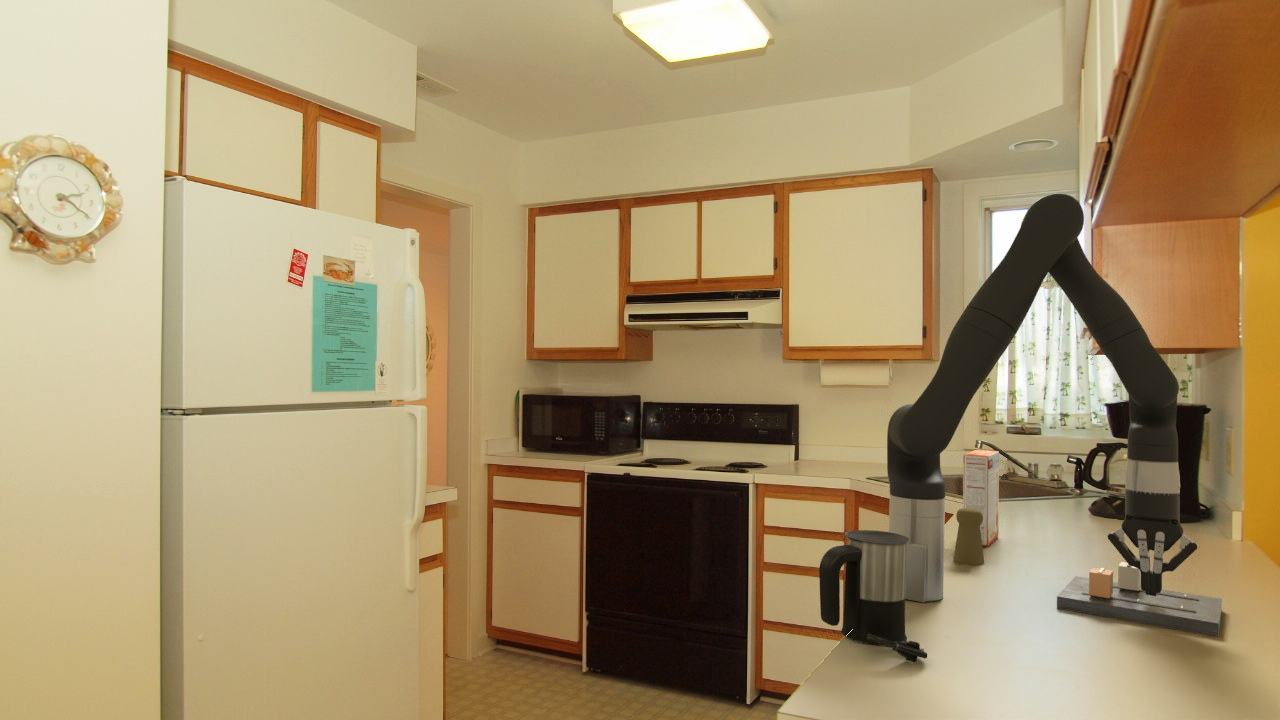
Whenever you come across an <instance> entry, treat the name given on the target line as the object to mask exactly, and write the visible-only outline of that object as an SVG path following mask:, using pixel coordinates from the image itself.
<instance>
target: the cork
mask: <svg viewBox="0 0 1280 720" xmlns="http://www.w3.org/2000/svg"><path fill="white" fill-rule="evenodd" d="M955 515H956V521H957V522H958V527H957V535H956V541H955V547H954V554H953V562H955V563H959V564H963V565H969V566H981V565H984V564H985V559H984V549H983V547H984V546H982V539H981V530H980V525H981V524H982V522H983V515H982V512H981V511H979V510H977V509H973V508H963V507H962V508H959V509H958V510H957V512H956V514H955Z"/></svg>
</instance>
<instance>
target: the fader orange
mask: <svg viewBox="0 0 1280 720" xmlns="http://www.w3.org/2000/svg"><path fill="white" fill-rule="evenodd" d="M1088 574H1089V576H1088V578H1089V595H1092V596H1098V597H1105V598H1110V597H1111V595H1112V594H1113V582H1114V570H1110V569H1106V568H1105V567H1100V568H1097V567H1096V568H1095V567H1092V568H1091V569H1090V570H1089V573H1088Z"/></svg>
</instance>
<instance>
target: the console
mask: <svg viewBox="0 0 1280 720" xmlns="http://www.w3.org/2000/svg"><path fill="white" fill-rule="evenodd" d="M1222 605H1223V599H1222V598H1220V597H1212V596H1207V595H1201V594H1200V595H1199V594H1195V593H1187V592H1181V591H1174V590H1169V589H1168V590H1166V589H1162V590H1161V592H1160V593H1157V595H1156V596H1150V595H1146V591H1142V589H1141V587H1140V589H1139V591H1136V590H1129V589H1123V588H1118V582H1115V581H1113V594H1112V595H1111V597H1110V598H1105V597H1098V596H1092V595H1089V577H1083V576H1077V575H1076V576H1074V577H1073V578H1072V580H1071V581H1070V582H1069V583H1067V585H1066V586H1065V587H1064V588H1063V589H1062V590H1061V591H1060V593H1058V595H1057V596H1056V609H1059V610H1065V611H1071V612H1076V613H1082V614H1087V615H1094V616H1099V617H1103V618H1110V619H1116V620H1121V621H1127V622H1134V623H1137V624H1138V623H1139V624H1144V625H1149V626H1155V627H1161V628H1165V629H1166V628H1167V629H1173V630H1178V631H1183V632H1189V633H1195V634H1201V635H1206V636H1212V637H1218V638H1219V636H1220V628H1221V619H1222V612H1223V607H1222Z"/></svg>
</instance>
